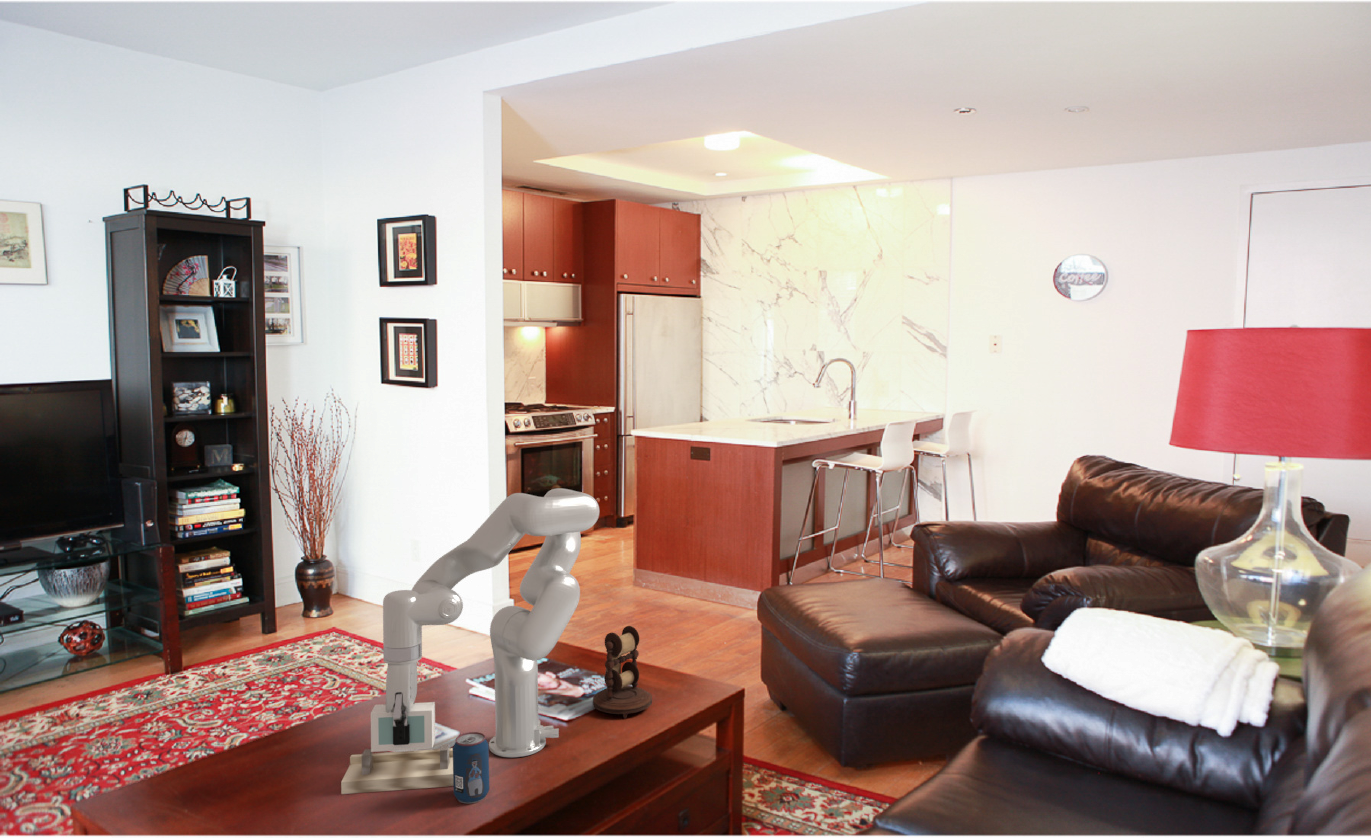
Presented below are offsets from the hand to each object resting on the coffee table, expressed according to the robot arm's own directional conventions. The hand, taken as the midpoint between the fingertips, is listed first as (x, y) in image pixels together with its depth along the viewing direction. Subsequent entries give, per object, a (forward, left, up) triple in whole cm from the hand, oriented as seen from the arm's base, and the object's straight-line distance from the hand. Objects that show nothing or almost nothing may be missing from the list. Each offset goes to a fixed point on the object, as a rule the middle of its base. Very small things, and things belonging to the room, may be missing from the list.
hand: (403, 737), depth 181 cm
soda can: (-14, +9, -9) cm, 19 cm away
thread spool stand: (-47, -31, -9) cm, 57 cm away
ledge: (0, -1, -9) cm, 9 cm away
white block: (0, 0, -2) cm, 2 cm away
